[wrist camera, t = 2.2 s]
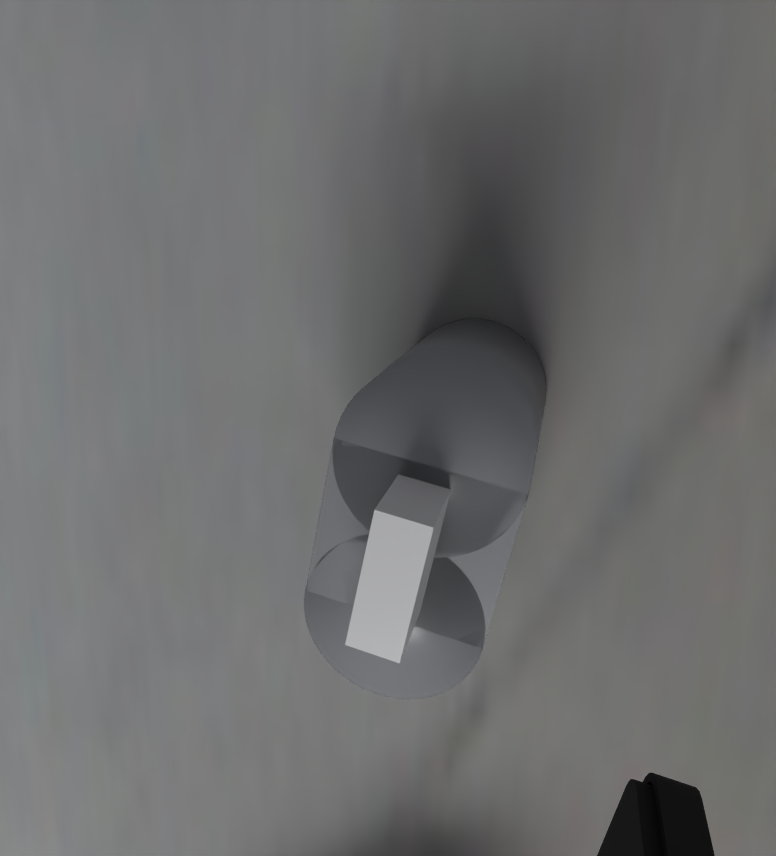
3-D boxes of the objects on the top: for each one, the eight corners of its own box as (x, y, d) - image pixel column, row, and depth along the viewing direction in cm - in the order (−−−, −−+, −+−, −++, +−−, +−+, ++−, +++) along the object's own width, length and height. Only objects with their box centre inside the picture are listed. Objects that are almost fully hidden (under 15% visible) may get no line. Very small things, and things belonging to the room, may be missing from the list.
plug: (564, 338, 21) (554, 424, 12) (493, 582, 24) (446, 785, 15) (420, 303, 21) (320, 361, 13) (368, 543, 24) (258, 716, 16)
